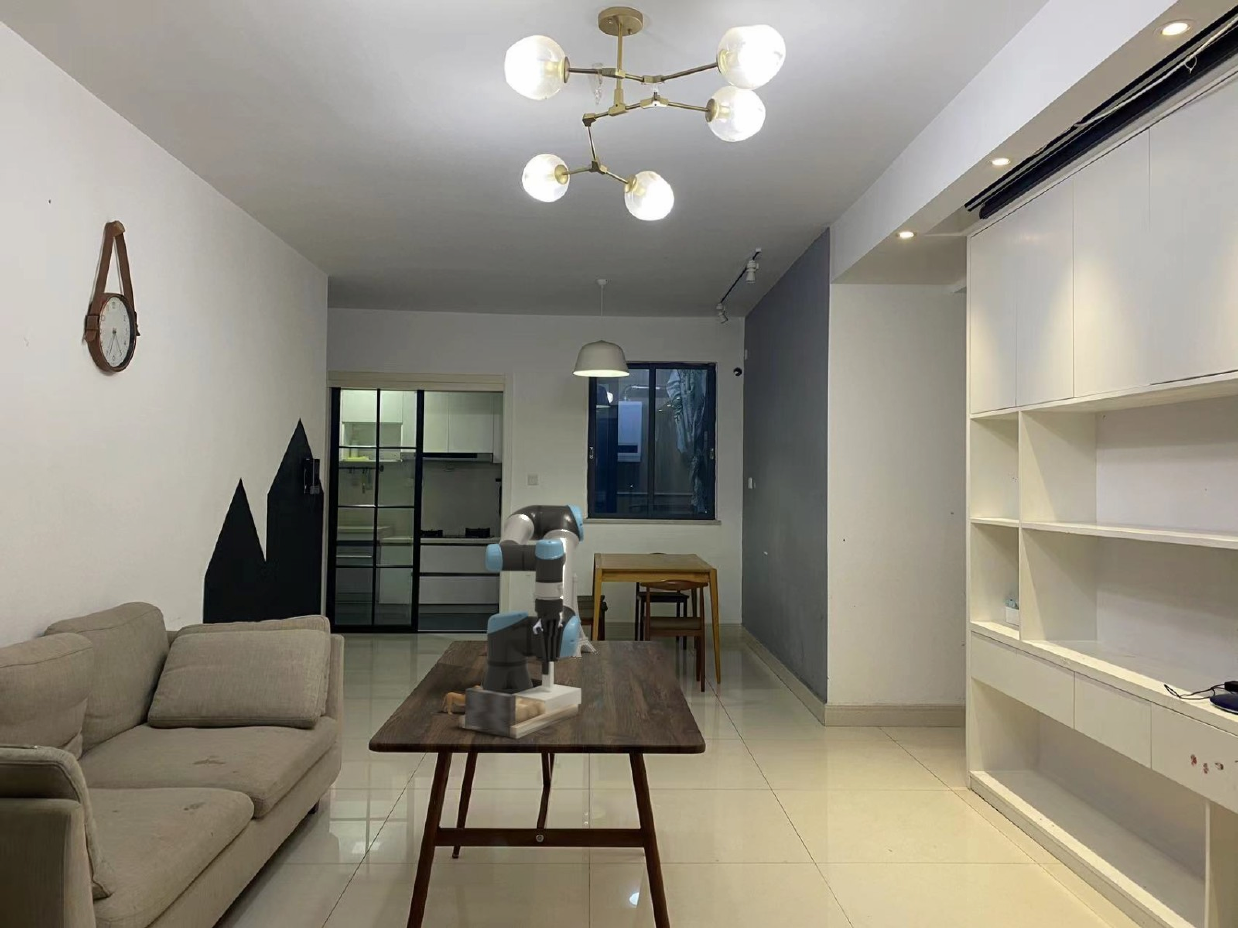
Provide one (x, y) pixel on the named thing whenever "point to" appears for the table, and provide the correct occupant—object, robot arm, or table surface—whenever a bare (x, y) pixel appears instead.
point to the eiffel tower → (582, 638)
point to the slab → (552, 696)
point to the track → (505, 714)
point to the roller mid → (528, 710)
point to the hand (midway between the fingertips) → (547, 686)
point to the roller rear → (539, 705)
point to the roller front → (520, 716)
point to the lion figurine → (455, 700)
